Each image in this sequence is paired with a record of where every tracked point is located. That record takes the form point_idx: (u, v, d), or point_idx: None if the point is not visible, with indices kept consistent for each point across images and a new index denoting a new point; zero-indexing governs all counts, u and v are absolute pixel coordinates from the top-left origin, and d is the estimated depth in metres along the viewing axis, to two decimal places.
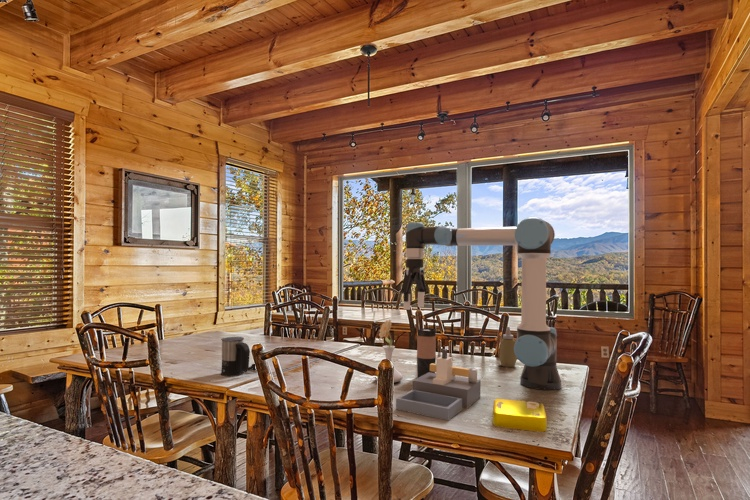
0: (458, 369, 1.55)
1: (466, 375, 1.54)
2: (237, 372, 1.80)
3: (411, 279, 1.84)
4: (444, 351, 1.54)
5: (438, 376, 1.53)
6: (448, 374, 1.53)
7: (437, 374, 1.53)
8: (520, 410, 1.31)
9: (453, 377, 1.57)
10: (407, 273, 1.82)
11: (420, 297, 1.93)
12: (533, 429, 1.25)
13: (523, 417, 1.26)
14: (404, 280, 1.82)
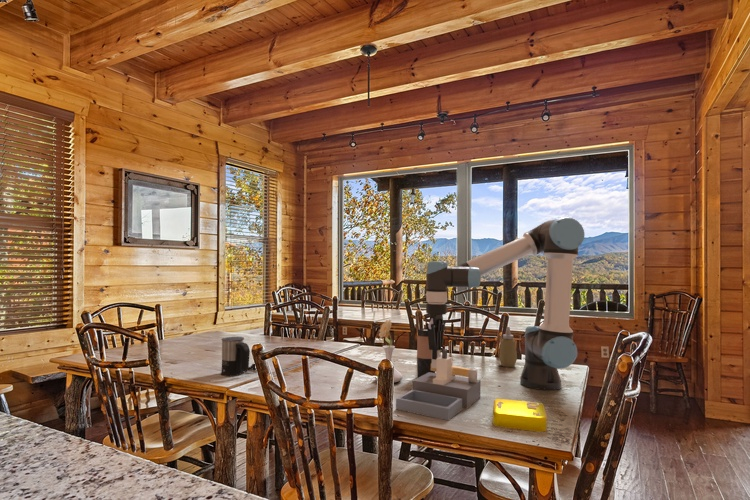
0: (458, 369, 1.56)
1: (466, 375, 1.54)
2: (237, 372, 1.80)
3: (435, 331, 1.59)
4: (444, 351, 1.54)
5: (438, 376, 1.53)
6: (448, 374, 1.53)
7: (437, 374, 1.53)
8: (520, 410, 1.31)
9: (453, 377, 1.57)
10: (430, 328, 1.56)
11: None
12: (533, 429, 1.25)
13: (523, 416, 1.26)
14: (429, 336, 1.57)
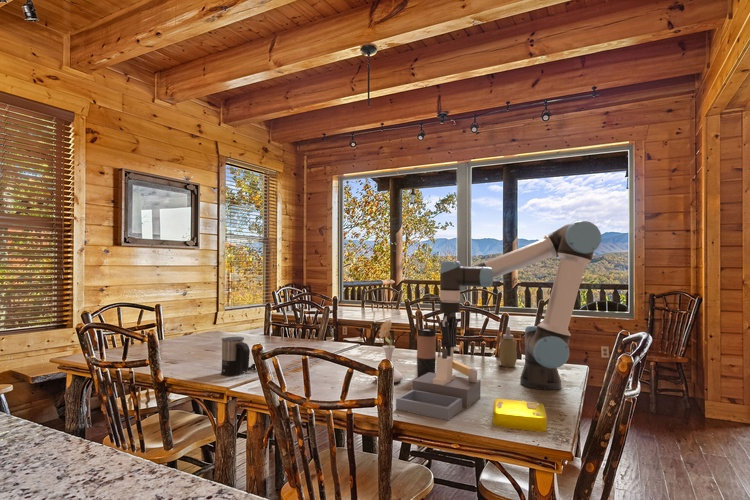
0: (463, 367, 1.58)
1: (467, 374, 1.55)
2: (237, 372, 1.81)
3: (449, 329, 1.64)
4: (444, 351, 1.54)
5: (438, 376, 1.53)
6: (448, 374, 1.53)
7: (437, 374, 1.53)
8: (520, 410, 1.31)
9: (453, 377, 1.57)
10: (444, 326, 1.61)
11: None
12: (533, 429, 1.25)
13: (523, 416, 1.26)
14: (443, 333, 1.62)
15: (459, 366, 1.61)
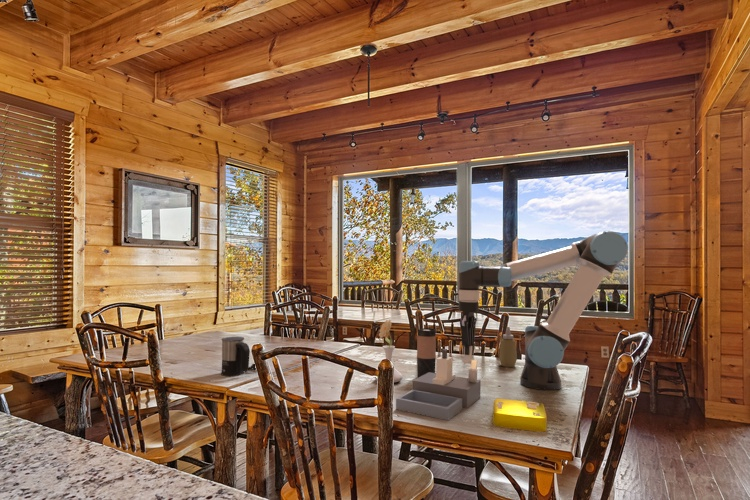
0: (470, 367, 1.59)
1: None
2: (237, 372, 1.81)
3: (468, 328, 1.66)
4: (444, 351, 1.54)
5: (438, 376, 1.53)
6: (448, 374, 1.53)
7: (437, 374, 1.53)
8: (520, 410, 1.31)
9: (453, 377, 1.57)
10: (463, 325, 1.63)
11: None
12: (533, 429, 1.25)
13: (523, 417, 1.26)
14: (462, 332, 1.64)
15: None
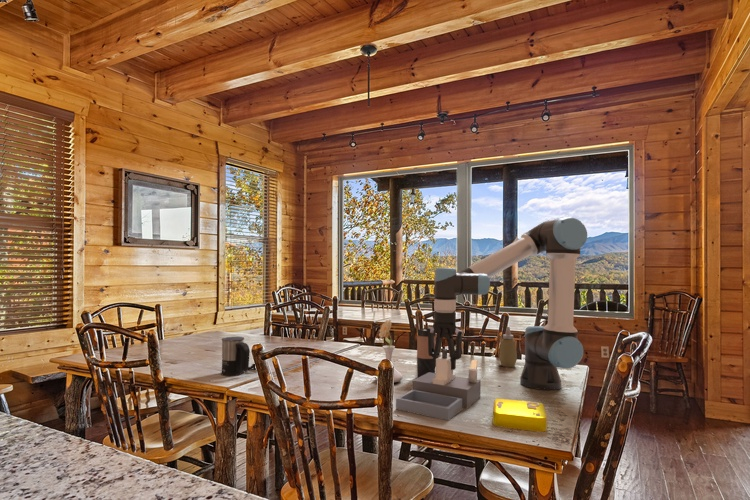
0: (470, 367, 1.59)
1: None
2: (237, 372, 1.81)
3: None
4: (444, 351, 1.54)
5: (438, 376, 1.53)
6: None
7: (437, 374, 1.53)
8: (520, 410, 1.31)
9: (453, 377, 1.57)
10: None
11: None
12: (533, 429, 1.25)
13: (523, 417, 1.26)
14: None
15: None
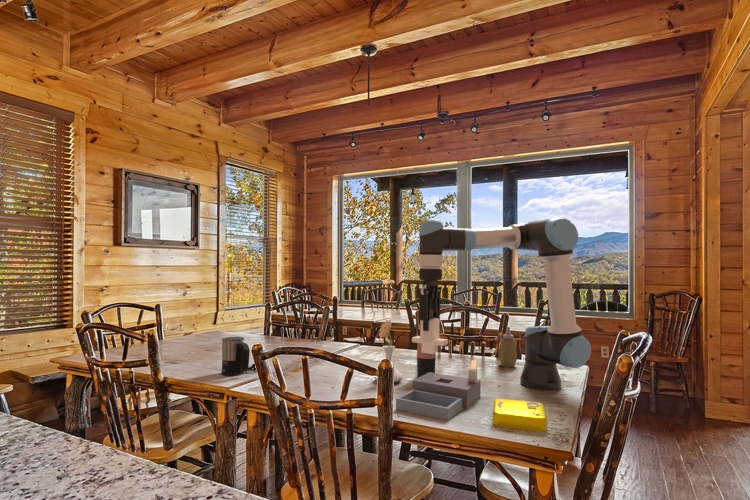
0: (470, 367, 1.59)
1: None
2: (237, 372, 1.81)
3: (428, 298, 1.41)
4: (432, 311, 1.43)
5: (435, 338, 1.41)
6: None
7: (435, 336, 1.40)
8: (520, 410, 1.31)
9: None
10: (422, 293, 1.38)
11: None
12: (533, 429, 1.25)
13: (523, 417, 1.26)
14: (420, 303, 1.39)
15: None
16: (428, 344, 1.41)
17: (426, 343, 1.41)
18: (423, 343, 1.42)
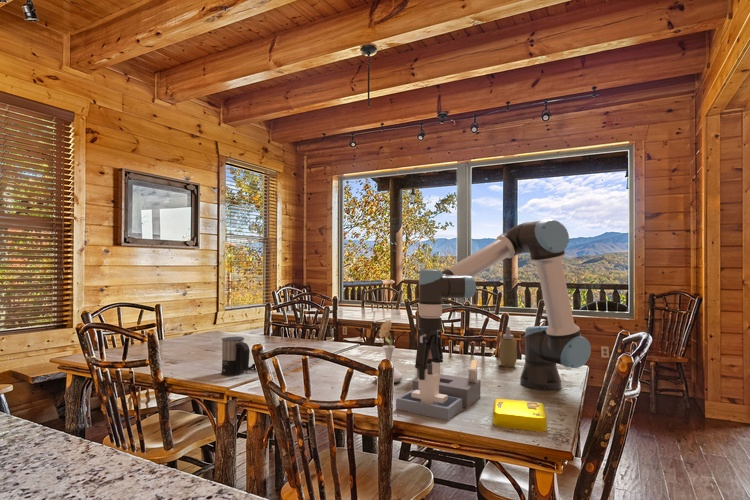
0: (470, 367, 1.59)
1: None
2: (237, 372, 1.81)
3: (427, 347, 1.40)
4: None
5: (435, 394, 1.40)
6: None
7: (434, 393, 1.40)
8: (520, 410, 1.31)
9: None
10: (421, 341, 1.37)
11: (435, 370, 1.47)
12: (533, 429, 1.25)
13: (523, 416, 1.26)
14: (418, 351, 1.37)
15: None
16: (428, 400, 1.41)
17: (426, 399, 1.41)
18: (423, 399, 1.41)
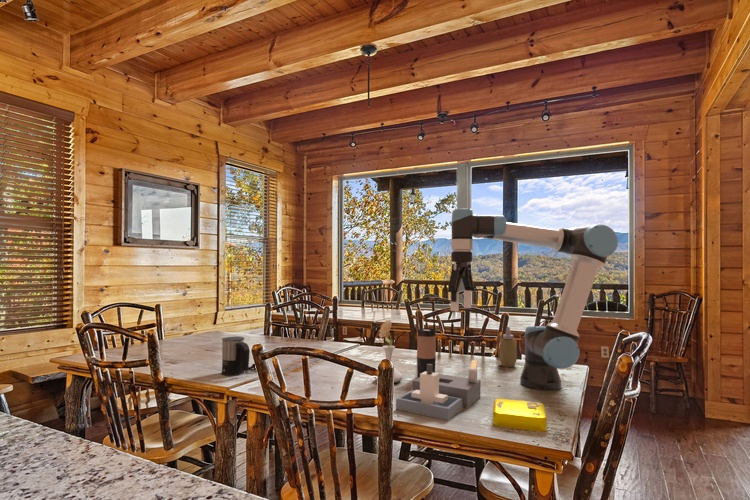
0: (470, 367, 1.59)
1: None
2: (237, 372, 1.81)
3: (459, 275, 1.56)
4: None
5: (435, 394, 1.40)
6: None
7: (434, 393, 1.40)
8: (520, 410, 1.31)
9: None
10: (455, 268, 1.54)
11: (467, 297, 1.65)
12: (533, 429, 1.25)
13: (523, 416, 1.26)
14: (451, 276, 1.53)
15: None
16: (428, 400, 1.41)
17: (426, 399, 1.41)
18: (423, 399, 1.41)
